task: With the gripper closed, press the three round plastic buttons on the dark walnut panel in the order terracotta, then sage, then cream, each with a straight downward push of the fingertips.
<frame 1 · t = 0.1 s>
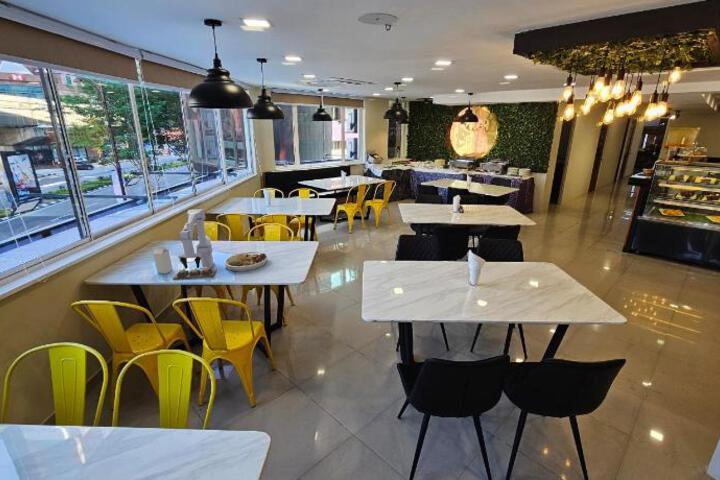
hand: (192, 267, 232), 10 cm above the table, fingers open, 7 cm apart
cream button: (194, 270, 244), point 4 cm above the table, slide at 0.0 cm
sage button: (182, 271, 243), point 4 cm above the table, slide at 0.0 cm
terracotta button: (206, 269, 244), point 4 cm above the table, slide at 0.0 cm
milk carton: (165, 271, 254), on the table
panel: (195, 275, 246), on the table
bowl: (246, 265, 262), on the table
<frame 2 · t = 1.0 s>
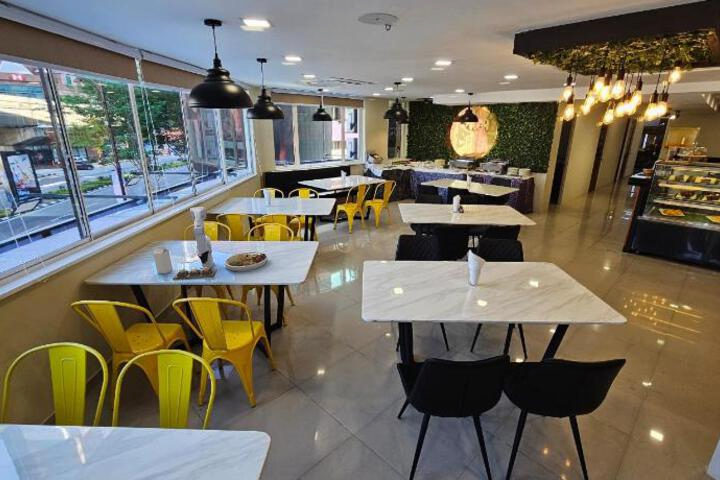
hand: (204, 262, 243), 9 cm above the table, fingers open, 3 cm apart
nothing on the table moved.
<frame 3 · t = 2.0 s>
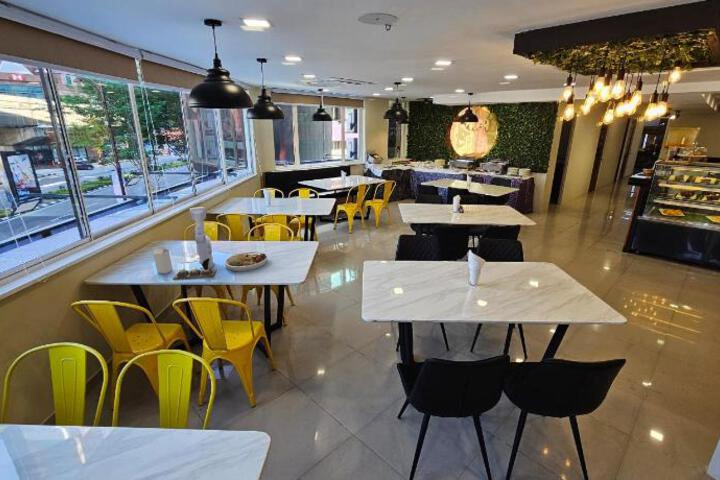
hand: (206, 269, 244), 4 cm above the table, fingers closed, pressing on terracotta button
terracotta button: (206, 271, 245), point 3 cm above the table, slide at 1.3 cm, touching gripper
everything else where it was.
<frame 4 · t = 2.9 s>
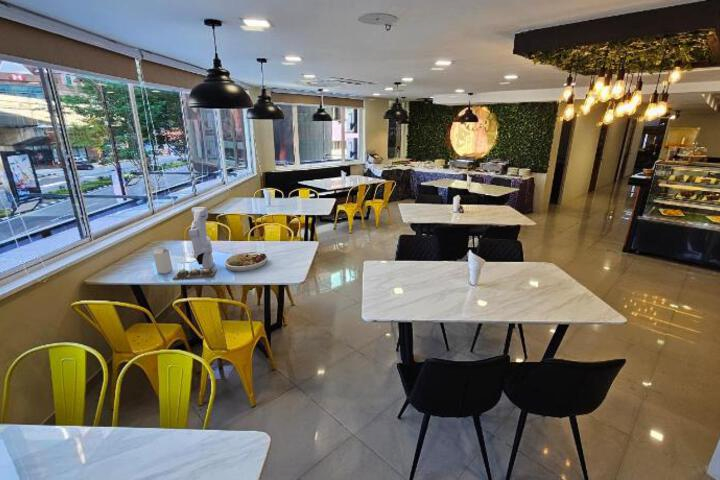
hand: (200, 264, 243), 8 cm above the table, fingers closed
terracotta button: (206, 271, 245), point 3 cm above the table, slide at 1.3 cm
everything else where it was.
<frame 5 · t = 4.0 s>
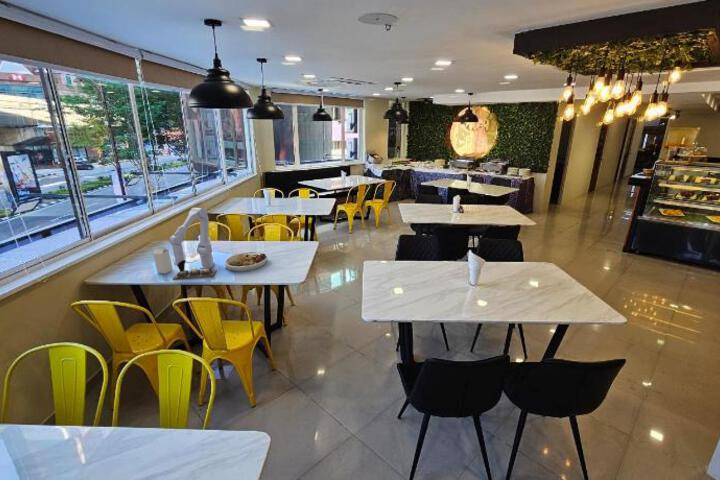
hand: (182, 271, 243), 4 cm above the table, fingers closed, pressing on sage button
sage button: (182, 272, 243), point 3 cm above the table, slide at 1.3 cm, touching gripper
everything else where it was.
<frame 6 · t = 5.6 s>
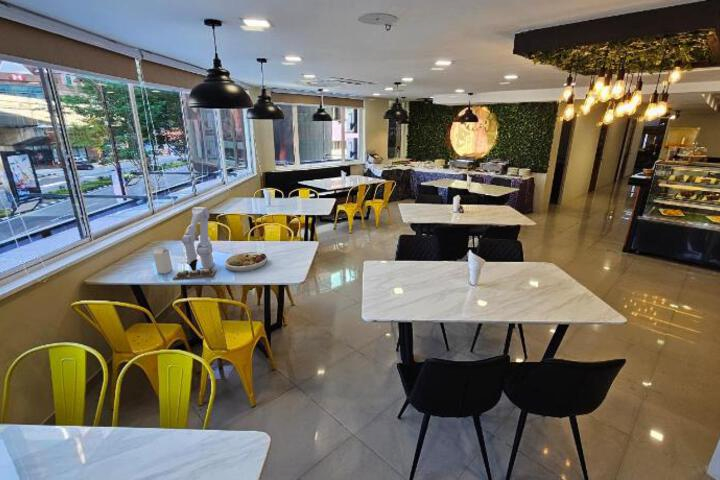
hand: (194, 270, 244), 4 cm above the table, fingers closed, pressing on cream button
cream button: (194, 271, 244), point 3 cm above the table, slide at 1.2 cm, touching gripper
sage button: (182, 272, 243), point 3 cm above the table, slide at 1.3 cm
everything else where it was.
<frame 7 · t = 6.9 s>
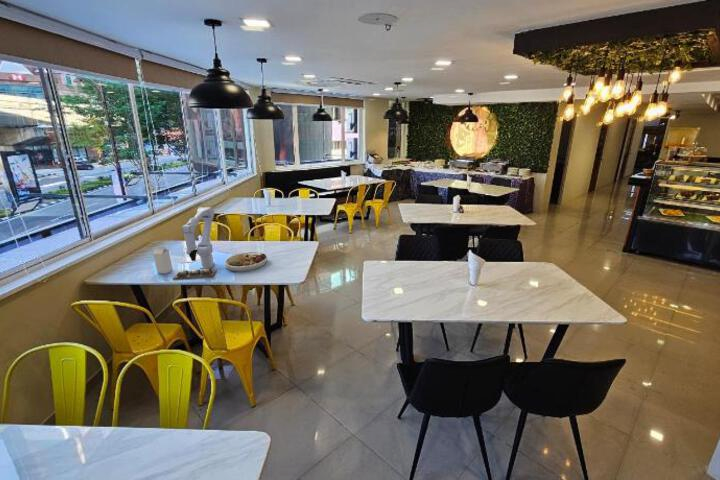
hand: (193, 260, 244), 10 cm above the table, fingers closed
cream button: (194, 272, 244), point 3 cm above the table, slide at 1.3 cm
everything else where it was.
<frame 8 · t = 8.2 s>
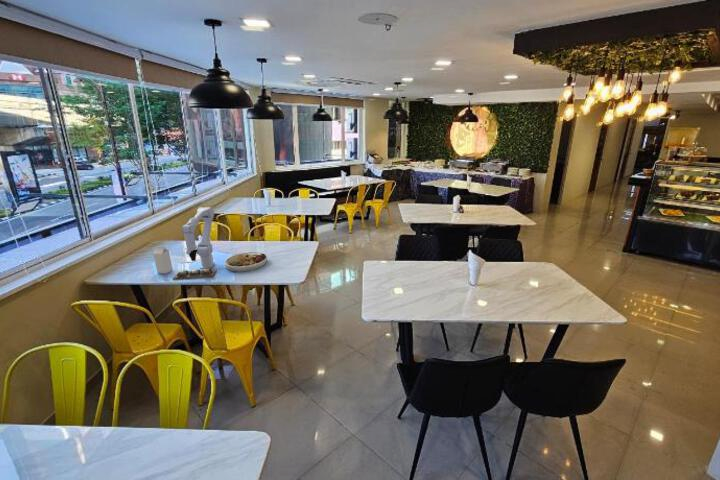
hand: (193, 260, 244), 10 cm above the table, fingers closed
nothing on the table moved.
at the end: terracotta button slide at 1.3 cm; sage button slide at 1.3 cm; cream button slide at 1.3 cm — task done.
